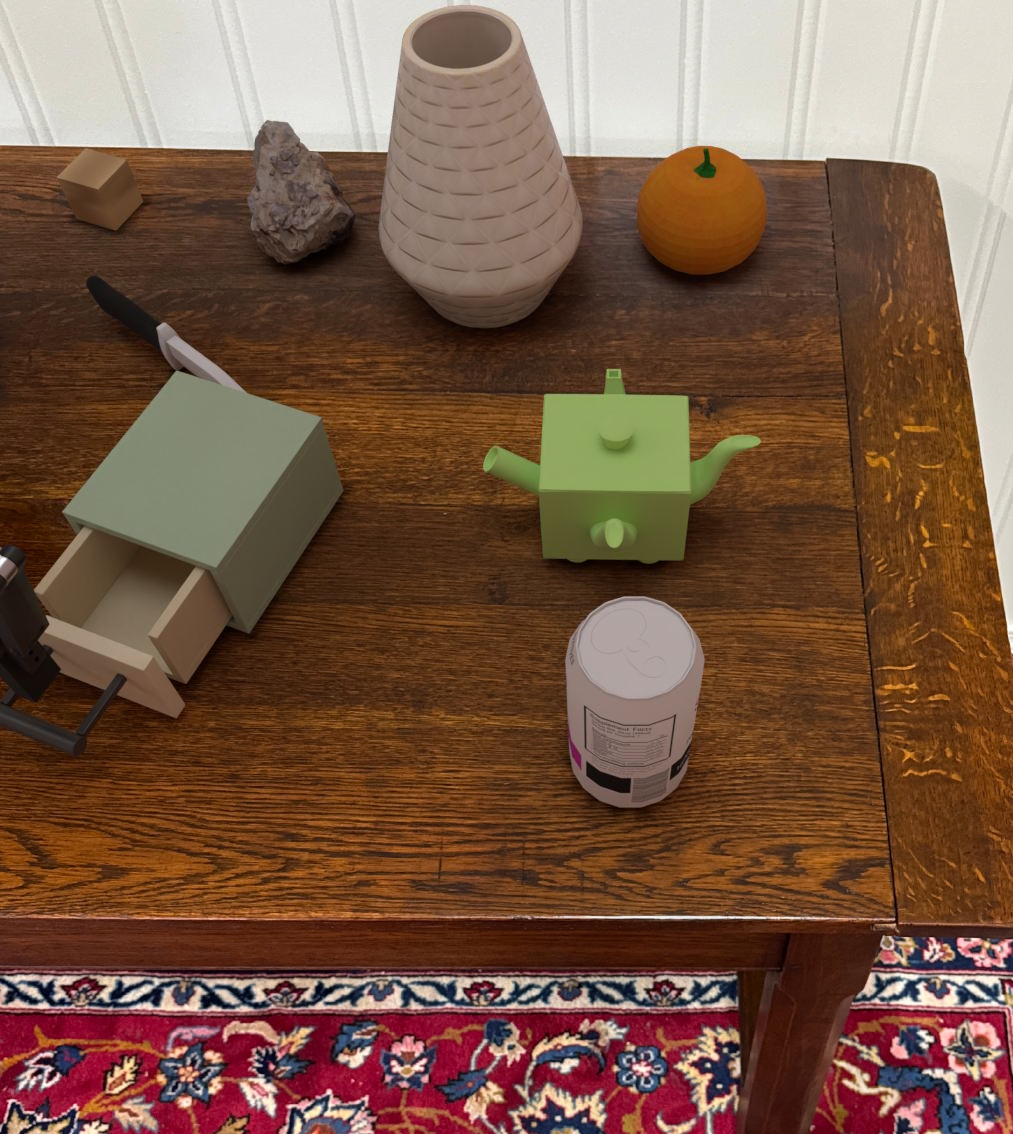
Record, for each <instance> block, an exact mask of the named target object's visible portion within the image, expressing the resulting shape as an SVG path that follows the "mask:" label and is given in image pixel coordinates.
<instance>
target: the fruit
mask: <svg viewBox="0 0 1013 1134" xmlns="http://www.w3.org/2000/svg"><path fill="white" fill-rule="evenodd" d="M767 204H768V203H767V196H766V190H765V188H764V186H763V184H762V182H761V180H760V179H759V177H758V175H757V174H756V171H754V169H753V167H751V166H750V165H749V164H748V163H747V162H745V161H744V160H743V159H742V158H741V157H740V156H739V155H737V154H735V153H733V152H731V151H729V150H727V149H725V148H723V147H718V146H713V145H695V146H690V147H686V148H683V149H681V150H679V151H676V152H675V153H672V154H671V155H669V156H667V157H666V158H665V159H663V160H662V161H661V162H660V163H659V164H657V165H656V166H655V167H654V168H653V169H652V170H651V171H650V173H649V174H648V176H647V178H645V181H644V182H643V185H642V186H641V189H640V191H639V194H638V197H637V204H636V226H637V227H636V228H637V230H638V234H639V236H640V238H641V240H642V242H643V244H644V247H645V248H646V250H647V251H648V253H650V254H651V255H652V256H653V257H654V259H656V260H657V261H658V262H659V263H661V264H662V265H664V266H666V267H668V268H670V269H672V270H674V271H676V272H680V273H683V274H687V275H694V276H695V275H698V276H700V275H701V276H702V275H704V276H709V275H714V274H718V273H724V272H726V271H728V270H730V269H732V268H734V267H736V266H738V265H740V264H742V263H743V262H744V261H745V260H746V259H747V258H748V257H749V256H750V255H751V254H752V253H754V251H755V250H756V249H757V247H758V245H759V243H760V241H761V239H762V236H763V234H764V232H765V229H766V226H767V223H768V221H767V220H768V205H767Z"/></svg>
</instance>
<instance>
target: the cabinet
mask: <svg viewBox="0 0 1013 1134" xmlns="http://www.w3.org/2000/svg"><path fill="white" fill-rule="evenodd" d="M245 392H246V391H245ZM245 392H242V391H239V390H236V389H233V388H229V387H226V386H223V385H220V384H217V383H214V382H211V381H208V380H205V379H202V378H199V377H197V376H196V375H192V374H189V373H186V372H183V371H180V370H178V371H177V370H175V372H174V373H173V374H172V375H171V377H170V378H169V379H168V380H167V382H166V383H165V384H164V385H163V387H162V388H161V389H160V390H159V392H158V393H157V394H156V395H155V396H154V398H153V399H152V400H151V401H150V402H149V404H148V405H147V406H146V407H145V409H144V410H143V411H142V412H141V414H140V415H139V416H138V417H137V418H136V419H135V421H134V422H133V424H132V425H131V426H130V427H129V428H128V430H126V432H125V433H124V435H123V436H122V437H121V438H120V440H119V441H118V442H117V443H116V445H115V446H114V447H113V448H112V450H111V451H110V452H109V453H108V455H107V456H106V457H105V458H104V459H103V461H101V463H100V464H99V466H97V468H96V469H95V470H94V472H93V473H92V474H91V476H90V477H89V478H88V479H87V481H85V483H84V484H83V485H82V487H81V488H80V489H78V491H77V493H76V494H75V495H74V496H73V497H72V499H71V500H70V501H69V503H68V504H67V505H66V506H65V507H64V509H63V510H62V511H61V513H62V514H63V516H64V517H65V519H66V521H67V522H68V523H69V525H70V526H71V528H72V530H73V531H74V532H75V534H76V536H77V535H78V534H79V532H80V531H81V530H82V529H83V527H84V526H88V527H91V528H94V529H96V530H99V531H102V532H105V533H108V534H110V535H113V536H116V537H119V538H121V539H124V540H127V541H130V542H132V543H135V544H138V545H141V546H143V547H146V548H149V549H152V550H154V551H157V552H160V553H163V554H166V555H168V556H171V557H174V558H177V559H179V560H182V561H185V562H188V563H190V564H193V565H196V566H199V567H201V568H204V569H207V570H210V572H211V574H212V575H213V577H214V579H215V581H216V583H217V585H218V587H219V589H220V591H221V593H222V595H223V597H224V599H225V601H226V603H227V605H228V607H229V609H230V611H231V613H232V615H233V616H232V617H231V619H230V620H229V621H228V623H227V624H226V626H227V627H230V628H233V629H235V630H238V631H241V632H243V633H245V634H250V633H251V632H252V630H253V629H254V627H255V626H256V624H257V623H258V621H259V620H260V618H261V617H262V615H263V614H264V612H265V611H266V609H267V608H268V606H269V604H270V603H271V602H272V601H273V598H274V597H275V595H277V592H278V591H279V590H280V588H281V586H282V585H283V583H284V582H285V581H286V579H287V577H288V576H289V574H290V573H291V571H292V570H293V568H294V567H295V565H296V564H297V562H298V561H299V559H300V558H301V556H302V555H303V553H304V552H305V550H306V549H307V547H308V546H309V544H310V543H311V541H312V540H313V538H314V536H316V533H317V532H318V530H319V529H320V527H321V526H322V524H323V523H324V521H325V520H326V518H327V517H328V515H329V514H330V512H331V510H332V509H333V508H334V506H335V505H336V503H337V502H338V500H339V499H340V497H341V496H342V494H343V493H344V487H343V484H342V481H341V479H340V478H341V477H340V474H339V471H338V468H337V467H338V466H337V465H336V461H335V457H334V454H333V451H332V448H331V443H330V440H329V437H328V434H327V431H326V428H325V427H326V426H325V425H324V424H325V423H324V421H323V417H321V416H319V415H316V414H313V413H310V412H307V411H303V410H300V409H298V408H294V407H292V406H288V405H285V404H282V403H278V402H276V401H273V400H269V399H267V398H263V397H261V396H257V395H254V394H251V393H248V392H246V393H245Z"/></svg>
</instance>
